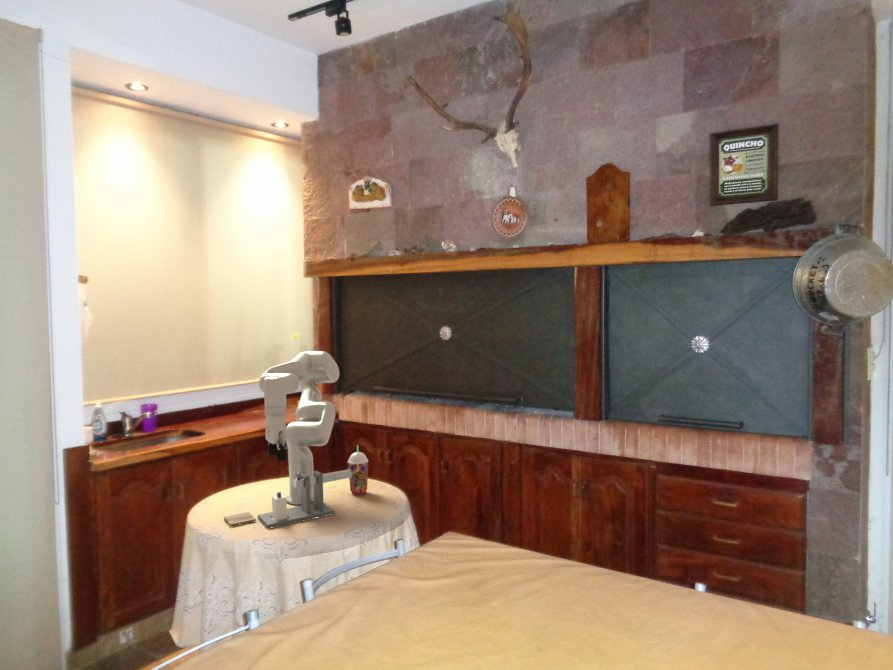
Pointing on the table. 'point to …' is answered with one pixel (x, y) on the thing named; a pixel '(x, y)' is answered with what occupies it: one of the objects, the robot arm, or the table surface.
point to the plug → (279, 507)
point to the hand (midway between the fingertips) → (277, 457)
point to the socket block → (302, 505)
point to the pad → (239, 519)
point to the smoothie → (358, 472)
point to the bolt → (326, 478)
